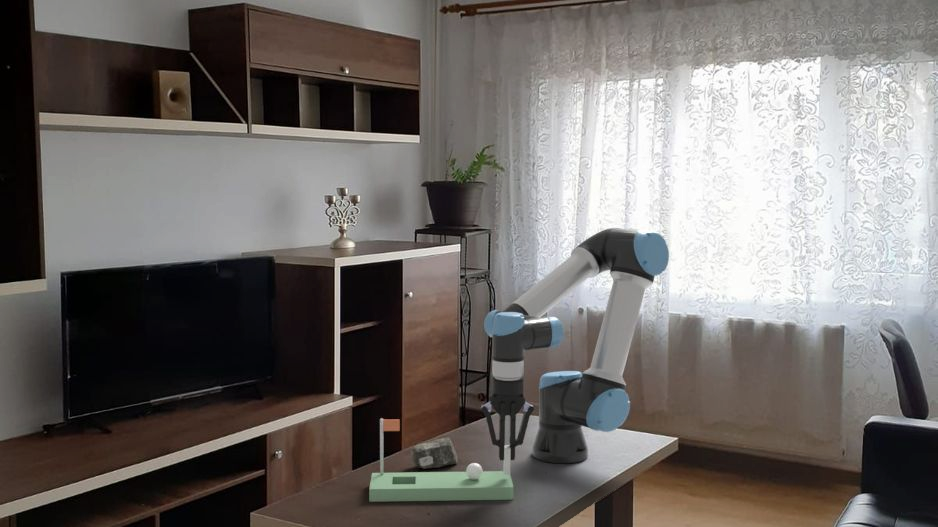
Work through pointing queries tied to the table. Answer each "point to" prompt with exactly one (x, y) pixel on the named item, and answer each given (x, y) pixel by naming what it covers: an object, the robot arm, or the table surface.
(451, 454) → the stone
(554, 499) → the table surface
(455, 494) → the green
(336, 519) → the table surface
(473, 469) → the ball
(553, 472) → the table surface
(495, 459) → the table surface
